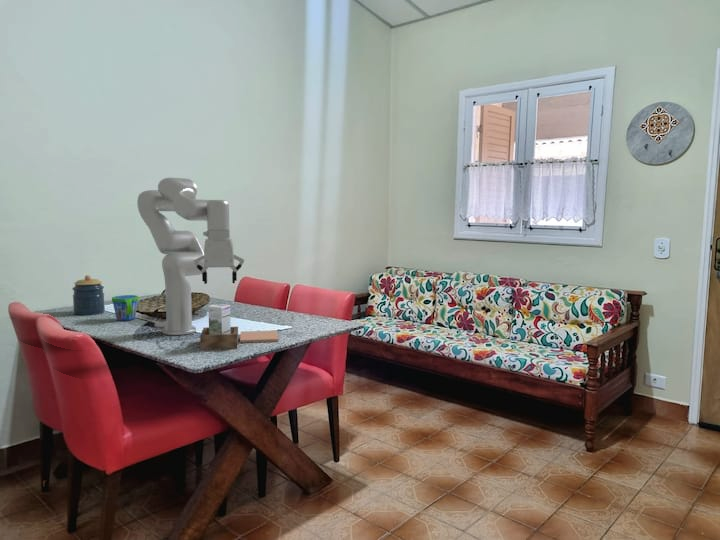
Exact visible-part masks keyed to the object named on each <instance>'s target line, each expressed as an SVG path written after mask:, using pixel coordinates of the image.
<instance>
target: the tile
mask: <svg viewBox="0 0 720 540" xmlns="http://www.w3.org/2000/svg"><path fill="white" fill-rule="evenodd" d="M241 342H242V343H241ZM245 342H253V343H273V342H274V343H275V342H279V334H278V330H275V329H273V330H246V331H243V330H242V331H240V337H239V343H240V344H246V343H245Z"/></svg>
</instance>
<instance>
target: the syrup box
mask: <svg viewBox="0 0 720 540" xmlns="http://www.w3.org/2000/svg"><path fill="white" fill-rule="evenodd" d="M207 311H208V327H209V334H231V328H230V327H231V305H230V304H223V303H221V304H220V303H213V304H211V305H209V306H208V310H207Z"/></svg>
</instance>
